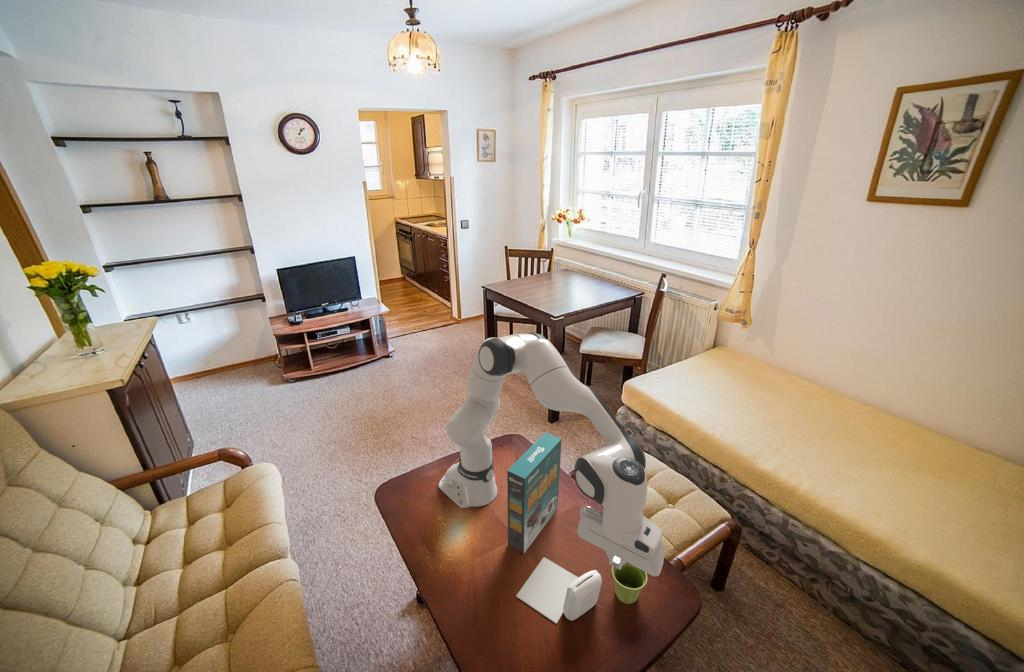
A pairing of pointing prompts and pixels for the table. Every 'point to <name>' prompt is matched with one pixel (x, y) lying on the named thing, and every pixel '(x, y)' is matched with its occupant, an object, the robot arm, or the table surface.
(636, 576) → the plant pot
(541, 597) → the mat
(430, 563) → the table surface
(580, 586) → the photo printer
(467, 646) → the table surface
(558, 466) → the cake mix box
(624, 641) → the table surface
